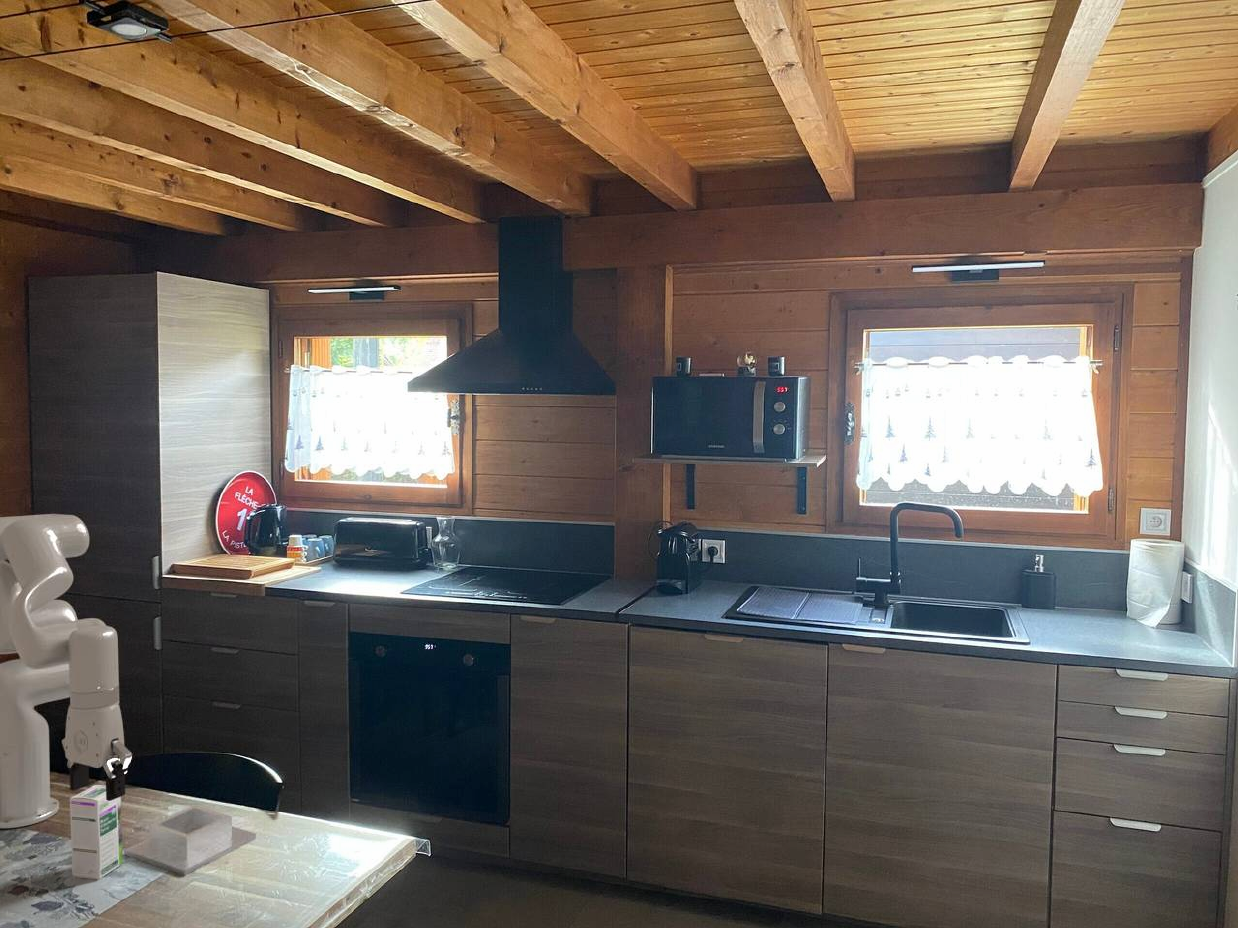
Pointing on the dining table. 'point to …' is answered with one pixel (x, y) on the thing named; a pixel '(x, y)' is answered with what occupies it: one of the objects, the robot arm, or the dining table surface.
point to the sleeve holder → (189, 840)
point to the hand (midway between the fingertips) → (97, 792)
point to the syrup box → (95, 833)
